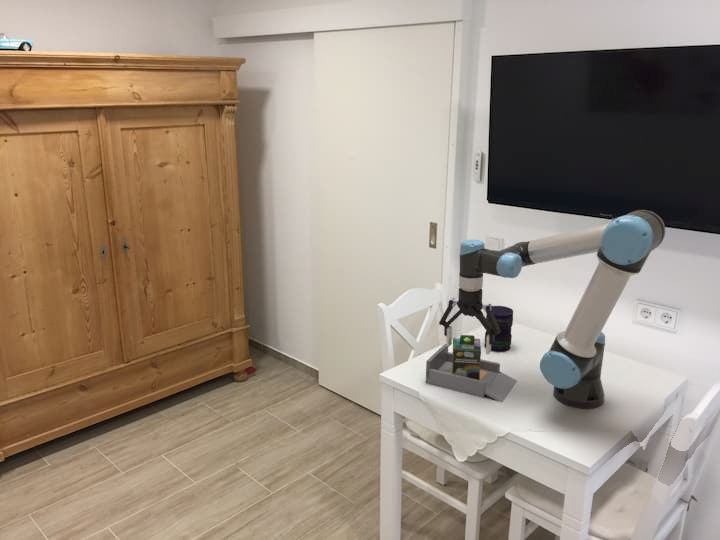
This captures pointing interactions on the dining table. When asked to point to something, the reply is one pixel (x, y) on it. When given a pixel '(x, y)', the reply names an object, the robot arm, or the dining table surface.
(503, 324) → the storage jar
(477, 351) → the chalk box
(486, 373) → the dock bay
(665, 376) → the dining table surface
